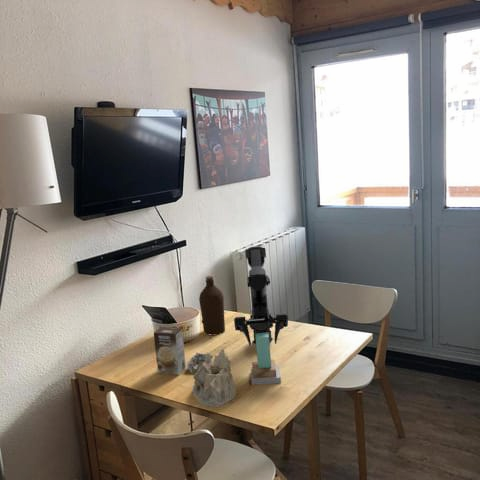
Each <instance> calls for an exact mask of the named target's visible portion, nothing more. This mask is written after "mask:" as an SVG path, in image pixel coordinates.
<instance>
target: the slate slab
mask: <svg viewBox="0 0 480 480" xmlns="http://www.w3.org/2000/svg"><path fill="white" fill-rule="evenodd" d="M275 367H276V377H265V378H253V371H252V366H251V367H250V377H251V378H250V379H251V386H252V385H264V384H267V385H268V384H277V383H282V378H281V371H280V366H279V365H278V364H277V365H276V364H275Z"/></svg>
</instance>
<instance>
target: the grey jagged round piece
mask: <svg viewBox="0 0 480 480" xmlns="http://www.w3.org/2000/svg"><path fill="white" fill-rule="evenodd" d="M204 354H205V362H204V363H203V365H202V366H201V368H200V369H199V370H198V372H197V371H196V373H195V374H194V375H193V379H194V381H193V388H192V395H194V397H195V398H196V400H197V401H198V402H199V404H200V405H202V406H204V407H212V408H213V407H214V408H218V407H222V406H224V405H225V404H228V402H230V401H231V400H233V399H234V398H235V396H236V393H237V388H236V385H235V382H234V377H233V374H232V369H231V361H230V360H229V356H226V353H225V348H224V347H222V348H221V349H220V351H219V352H218V354H215V355H214V357H213V358H214V359H213V360H212V361H211V353H210V351H208V352H205V353H204Z"/></svg>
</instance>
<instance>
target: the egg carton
mask: <svg viewBox="0 0 480 480" xmlns="http://www.w3.org/2000/svg"><path fill="white" fill-rule="evenodd" d="M205 354H206V353H199V352H196V353H195V354H194V355H193V356H192V357H191V358H190V359H189V360H188V361H186V362H185V365H186V368H187V371H188V372H189V373H195V372H197V371H198V370H199V369H200V368H201V366H202V365H203V363H204V362H205ZM210 355H211V354H210ZM213 358H214V357H213V355H211V361H212V362H213ZM193 365H195V366H193Z"/></svg>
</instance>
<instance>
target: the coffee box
mask: <svg viewBox="0 0 480 480" xmlns="http://www.w3.org/2000/svg"><path fill="white" fill-rule="evenodd" d="M153 339H154V348H155V357H156V367H157V374H161V373H163V374H164V375H171V374H173V375H174V376H180V375H181V374H182V373H183V372H184V371H185V370H186V369H187V365H186V357H185V348H184V347H185V346H184V337H183V328H181V327H173V326H172V327H171V326H170V327H168V326H161V327H159V328H158V329H156V330H155V331H154V332H153ZM185 368H186V369H185Z"/></svg>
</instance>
